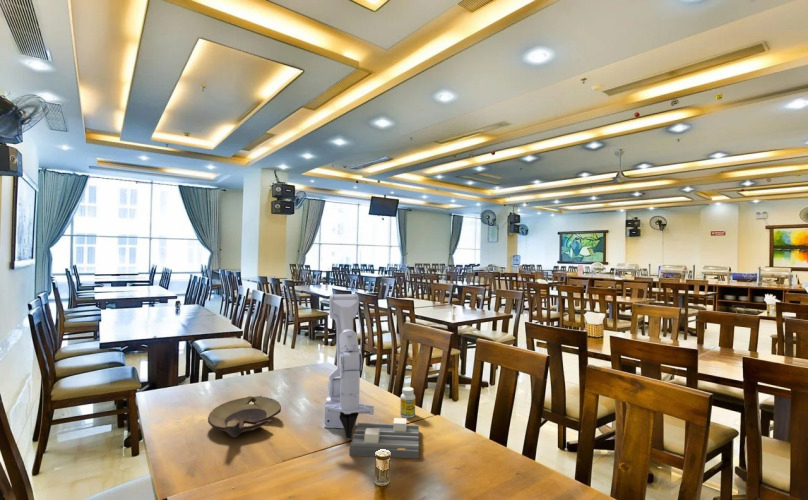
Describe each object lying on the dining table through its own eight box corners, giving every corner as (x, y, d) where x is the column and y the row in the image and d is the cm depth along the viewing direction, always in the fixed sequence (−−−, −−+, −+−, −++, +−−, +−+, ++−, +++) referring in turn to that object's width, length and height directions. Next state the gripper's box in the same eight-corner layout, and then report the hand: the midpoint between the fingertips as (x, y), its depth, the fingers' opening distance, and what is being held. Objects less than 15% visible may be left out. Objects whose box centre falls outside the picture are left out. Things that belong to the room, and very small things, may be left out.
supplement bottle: (409, 411, 147) (410, 385, 147) (417, 416, 143) (418, 389, 143) (397, 414, 144) (397, 387, 144) (405, 419, 140) (406, 392, 140)
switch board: (349, 455, 115) (349, 445, 115) (358, 428, 132) (358, 420, 132) (418, 458, 114) (418, 448, 114) (418, 431, 131) (418, 422, 131)
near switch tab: (364, 444, 117) (364, 434, 117) (366, 437, 121) (366, 428, 121) (377, 444, 117) (378, 434, 117) (379, 438, 121) (379, 428, 121)
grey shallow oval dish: (293, 414, 142) (294, 393, 142) (239, 455, 113) (239, 429, 113) (240, 406, 148) (240, 386, 148) (174, 444, 119) (175, 419, 119)
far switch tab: (393, 432, 125) (393, 423, 125) (394, 427, 129) (394, 417, 129) (405, 433, 124) (406, 423, 124) (406, 427, 128) (406, 418, 128)
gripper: (322, 395, 115) (321, 442, 115) (372, 397, 115) (371, 444, 115) (328, 387, 122) (327, 431, 122) (375, 389, 122) (374, 433, 122)
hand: (348, 436), depth 119 cm, fingers closed
